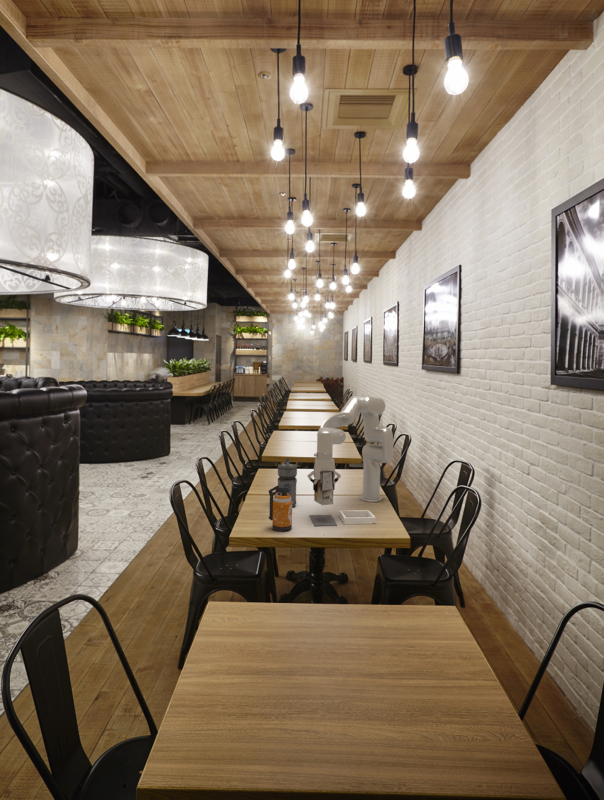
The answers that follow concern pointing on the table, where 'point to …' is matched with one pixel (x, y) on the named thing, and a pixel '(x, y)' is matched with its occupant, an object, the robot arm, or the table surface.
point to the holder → (357, 517)
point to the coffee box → (325, 488)
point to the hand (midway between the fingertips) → (323, 491)
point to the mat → (323, 520)
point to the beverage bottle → (288, 478)
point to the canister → (280, 508)
